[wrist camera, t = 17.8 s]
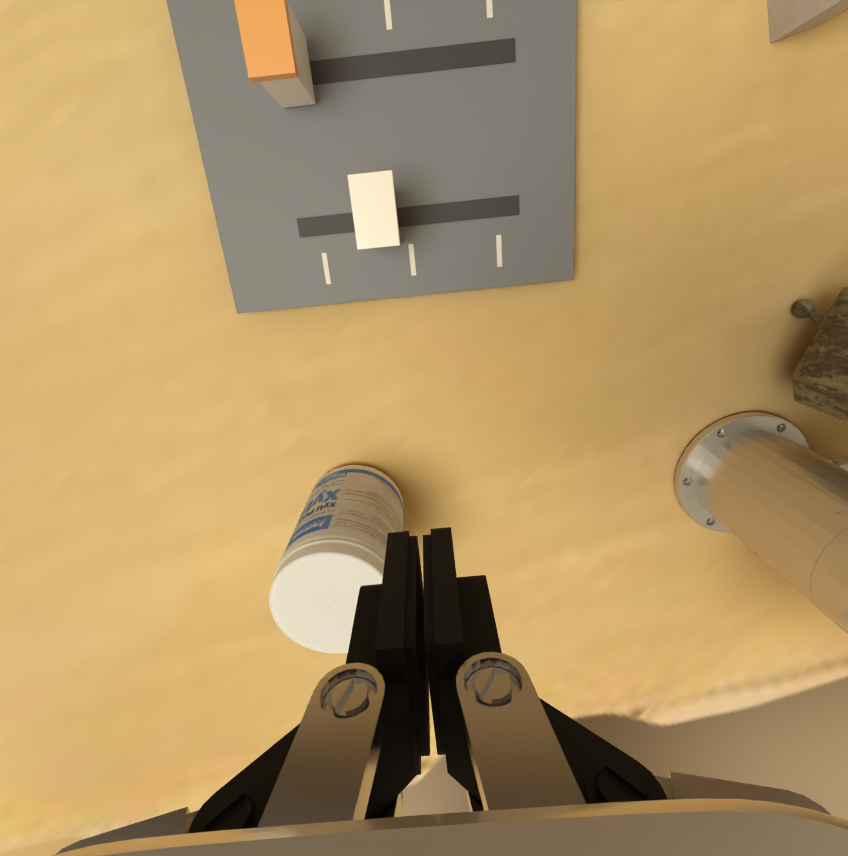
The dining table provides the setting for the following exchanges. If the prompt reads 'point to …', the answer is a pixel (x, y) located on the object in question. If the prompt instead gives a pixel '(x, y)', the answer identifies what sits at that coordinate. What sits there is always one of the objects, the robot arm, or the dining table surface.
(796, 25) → the tea bag
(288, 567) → the supplement tub
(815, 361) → the tabletop clock
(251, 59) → the fader orange
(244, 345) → the dining table surface
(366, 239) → the fader cream
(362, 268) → the panel
